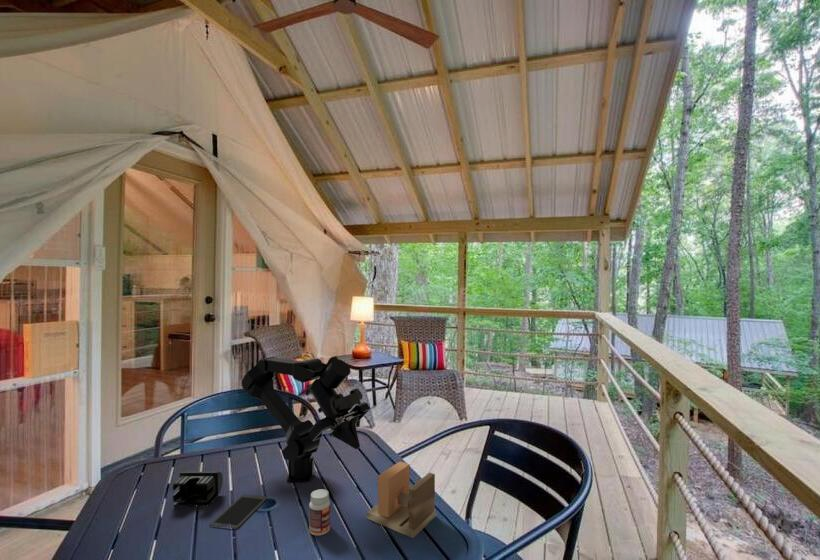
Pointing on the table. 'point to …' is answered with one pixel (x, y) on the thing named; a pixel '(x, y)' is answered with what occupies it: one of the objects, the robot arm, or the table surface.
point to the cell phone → (239, 511)
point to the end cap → (197, 488)
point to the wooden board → (392, 488)
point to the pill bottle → (319, 512)
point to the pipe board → (411, 508)
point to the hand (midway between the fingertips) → (358, 448)
